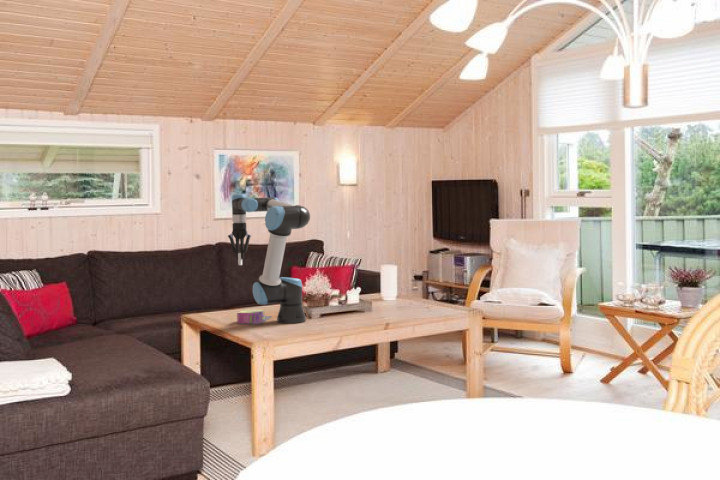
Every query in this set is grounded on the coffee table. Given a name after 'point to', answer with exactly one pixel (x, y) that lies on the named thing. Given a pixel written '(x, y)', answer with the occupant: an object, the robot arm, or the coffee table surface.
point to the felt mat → (259, 323)
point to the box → (251, 316)
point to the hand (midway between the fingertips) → (240, 264)
